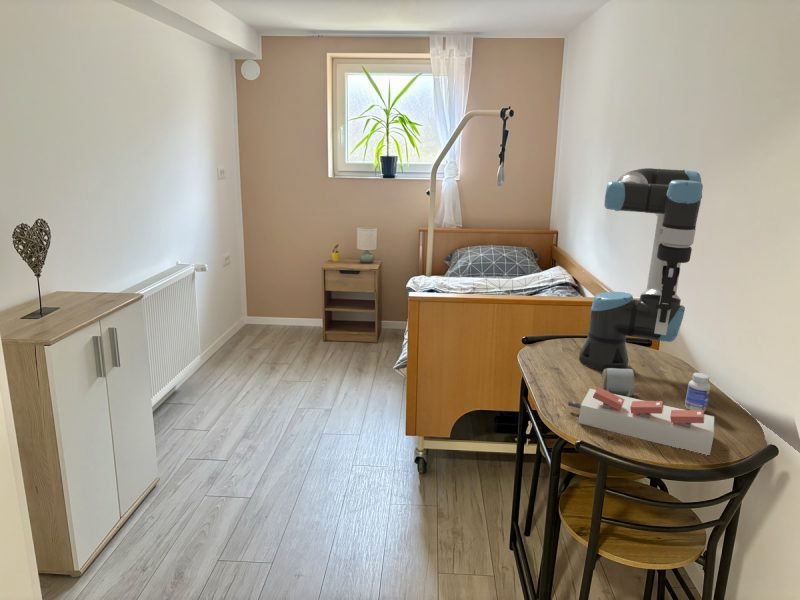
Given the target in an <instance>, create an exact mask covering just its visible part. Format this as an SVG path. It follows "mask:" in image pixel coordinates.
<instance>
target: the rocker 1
mask: <svg viewBox="0 0 800 600" xmlns="http://www.w3.org/2000/svg"><path fill="white" fill-rule="evenodd" d="M595 390H596V391H595V394H594V396H593V398H595V399H597V400H599V401H601V402H603V403H605V404H607V405H609V406H611V407H613V408H615V409H617V410H619V411H620V409H621V407H622V405H623V403H624V400H625V399H623V398H621V397H619V396H617V395H614V394H612V393H610V392H608V391H606V390H604V389H602V387H601V386H597V388H596V389H595Z"/></svg>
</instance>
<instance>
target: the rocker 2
mask: <svg viewBox="0 0 800 600" xmlns="http://www.w3.org/2000/svg"><path fill="white" fill-rule="evenodd" d="M663 405H664V401H663V400H643V401H632V404H631V407H630V409H631V413H651V414H662V412H663V408H664V407H663Z"/></svg>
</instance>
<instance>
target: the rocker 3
mask: <svg viewBox="0 0 800 600" xmlns="http://www.w3.org/2000/svg"><path fill="white" fill-rule="evenodd" d="M704 414H705V411H704V410H689V409H683V410H671V415H670V419H671V423H704Z"/></svg>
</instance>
